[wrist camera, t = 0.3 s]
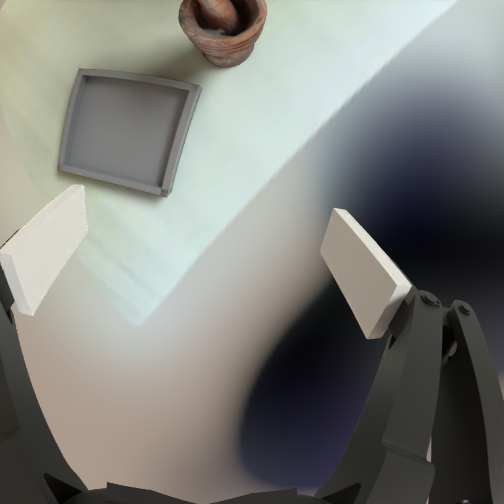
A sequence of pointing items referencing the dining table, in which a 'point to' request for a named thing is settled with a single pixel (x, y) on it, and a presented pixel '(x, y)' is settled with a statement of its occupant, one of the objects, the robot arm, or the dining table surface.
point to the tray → (127, 128)
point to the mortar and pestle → (223, 27)
